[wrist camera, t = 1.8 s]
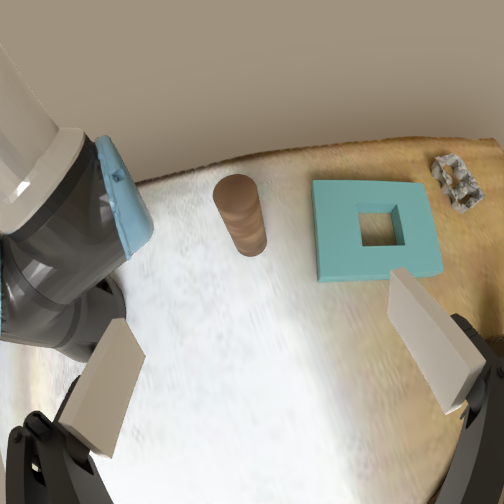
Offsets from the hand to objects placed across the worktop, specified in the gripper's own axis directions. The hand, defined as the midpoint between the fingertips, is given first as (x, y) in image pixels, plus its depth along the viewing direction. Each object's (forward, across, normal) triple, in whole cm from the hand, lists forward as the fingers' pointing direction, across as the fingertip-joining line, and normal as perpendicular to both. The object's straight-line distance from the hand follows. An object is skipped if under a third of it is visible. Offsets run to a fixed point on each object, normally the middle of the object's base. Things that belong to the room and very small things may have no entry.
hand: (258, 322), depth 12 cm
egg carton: (+29, +36, -4) cm, 46 cm away
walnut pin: (+26, -1, -6) cm, 27 cm away
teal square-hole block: (+24, +17, -8) cm, 31 cm away
